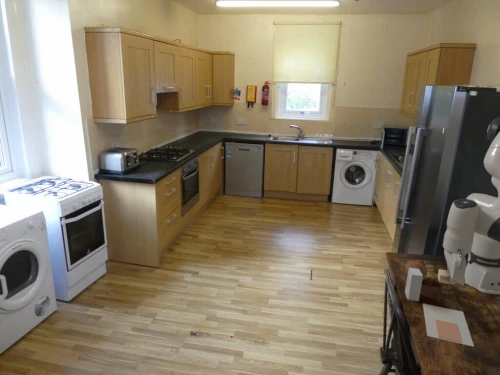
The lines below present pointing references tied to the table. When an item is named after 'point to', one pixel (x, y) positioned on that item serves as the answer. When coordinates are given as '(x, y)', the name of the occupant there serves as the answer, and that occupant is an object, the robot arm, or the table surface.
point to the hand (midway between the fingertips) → (450, 278)
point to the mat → (447, 324)
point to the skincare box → (413, 284)
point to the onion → (418, 265)
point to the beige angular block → (448, 278)
